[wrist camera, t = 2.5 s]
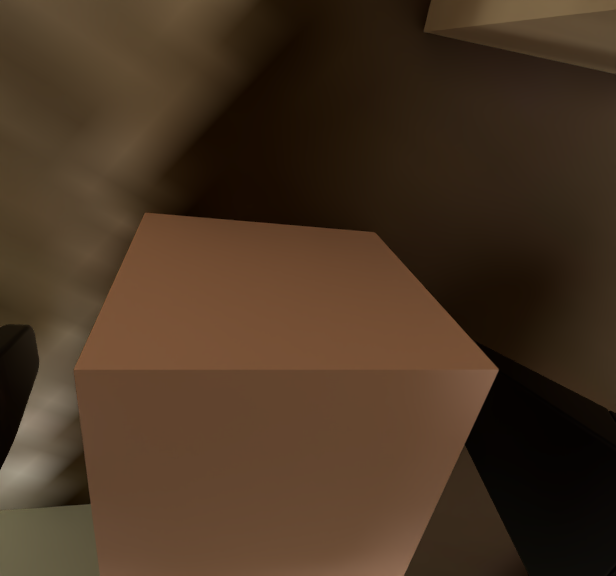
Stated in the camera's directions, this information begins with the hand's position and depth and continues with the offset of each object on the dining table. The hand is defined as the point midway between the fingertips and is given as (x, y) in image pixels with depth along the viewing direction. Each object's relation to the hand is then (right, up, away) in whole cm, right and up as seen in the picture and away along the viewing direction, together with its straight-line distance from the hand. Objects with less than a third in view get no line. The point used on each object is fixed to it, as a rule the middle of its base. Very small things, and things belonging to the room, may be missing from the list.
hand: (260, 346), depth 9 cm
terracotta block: (0, +1, +1) cm, 1 cm away
